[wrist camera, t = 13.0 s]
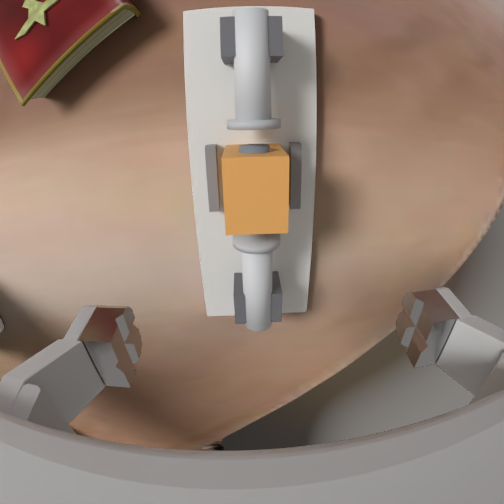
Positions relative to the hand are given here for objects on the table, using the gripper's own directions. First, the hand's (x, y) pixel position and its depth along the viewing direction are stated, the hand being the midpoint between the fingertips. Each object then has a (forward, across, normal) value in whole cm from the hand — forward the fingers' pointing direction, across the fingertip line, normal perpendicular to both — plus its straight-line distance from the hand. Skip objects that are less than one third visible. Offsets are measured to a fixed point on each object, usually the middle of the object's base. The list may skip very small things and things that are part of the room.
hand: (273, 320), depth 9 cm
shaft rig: (+18, 0, 0) cm, 18 cm away
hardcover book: (+19, +19, -21) cm, 34 cm away
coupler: (+17, 0, 0) cm, 17 cm away
